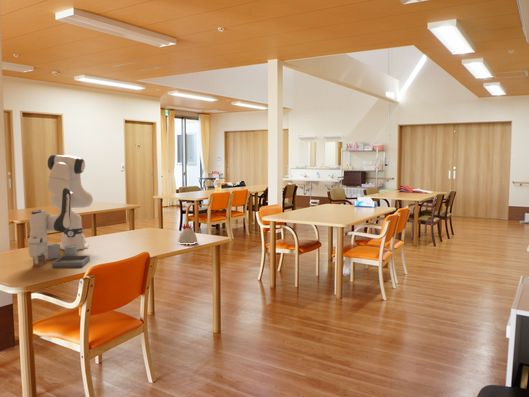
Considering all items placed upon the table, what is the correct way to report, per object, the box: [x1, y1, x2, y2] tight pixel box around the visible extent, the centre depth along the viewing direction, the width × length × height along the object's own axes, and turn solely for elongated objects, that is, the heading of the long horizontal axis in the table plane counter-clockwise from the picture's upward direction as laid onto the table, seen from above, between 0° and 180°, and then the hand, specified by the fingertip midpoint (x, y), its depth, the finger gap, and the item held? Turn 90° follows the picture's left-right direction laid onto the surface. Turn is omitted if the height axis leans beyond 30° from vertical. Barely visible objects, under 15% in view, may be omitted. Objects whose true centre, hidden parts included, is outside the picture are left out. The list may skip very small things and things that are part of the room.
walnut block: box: [32, 254, 46, 267], centre depth 266 cm, size 5×5×5 cm
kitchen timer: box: [177, 223, 198, 243], centre depth 337 cm, size 14×14×15 cm
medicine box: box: [44, 242, 61, 260], centre depth 283 cm, size 8×4×9 cm, turn 141°
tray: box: [51, 255, 91, 269], centre depth 268 cm, size 18×16×3 cm
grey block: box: [64, 245, 78, 256], centre depth 280 cm, size 7×7×8 cm
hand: (39, 261), depth 266 cm, fingers open, 7 cm apart
